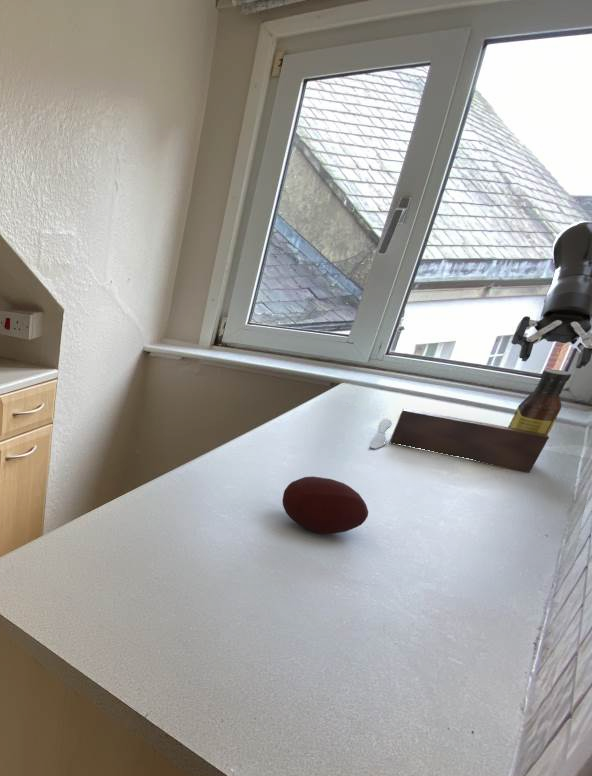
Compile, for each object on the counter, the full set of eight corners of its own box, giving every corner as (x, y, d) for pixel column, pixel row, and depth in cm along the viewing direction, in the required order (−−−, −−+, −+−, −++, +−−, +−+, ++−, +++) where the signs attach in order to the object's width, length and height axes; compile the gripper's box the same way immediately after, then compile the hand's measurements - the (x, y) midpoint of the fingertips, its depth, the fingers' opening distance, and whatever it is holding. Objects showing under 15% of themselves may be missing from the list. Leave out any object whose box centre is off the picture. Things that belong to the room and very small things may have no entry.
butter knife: (397, 420, 140) (383, 417, 141) (381, 450, 122) (366, 445, 123) (395, 422, 140) (382, 419, 142) (380, 452, 122) (365, 448, 124)
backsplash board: (527, 469, 116) (547, 434, 112) (529, 472, 114) (549, 437, 110) (389, 440, 128) (403, 408, 125) (389, 443, 127) (403, 410, 123)
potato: (260, 514, 94) (274, 470, 90) (306, 504, 98) (321, 462, 94) (323, 550, 84) (341, 502, 81) (370, 537, 88) (391, 491, 84)
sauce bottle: (509, 453, 123) (555, 367, 114) (540, 465, 118) (590, 375, 109) (485, 455, 122) (529, 367, 113) (515, 466, 117) (564, 375, 108)
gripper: (533, 287, 122) (515, 347, 118) (625, 294, 114) (610, 358, 111) (518, 309, 128) (501, 366, 125) (605, 317, 120) (589, 378, 117)
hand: (552, 362), depth 118 cm, fingers open, 8 cm apart
